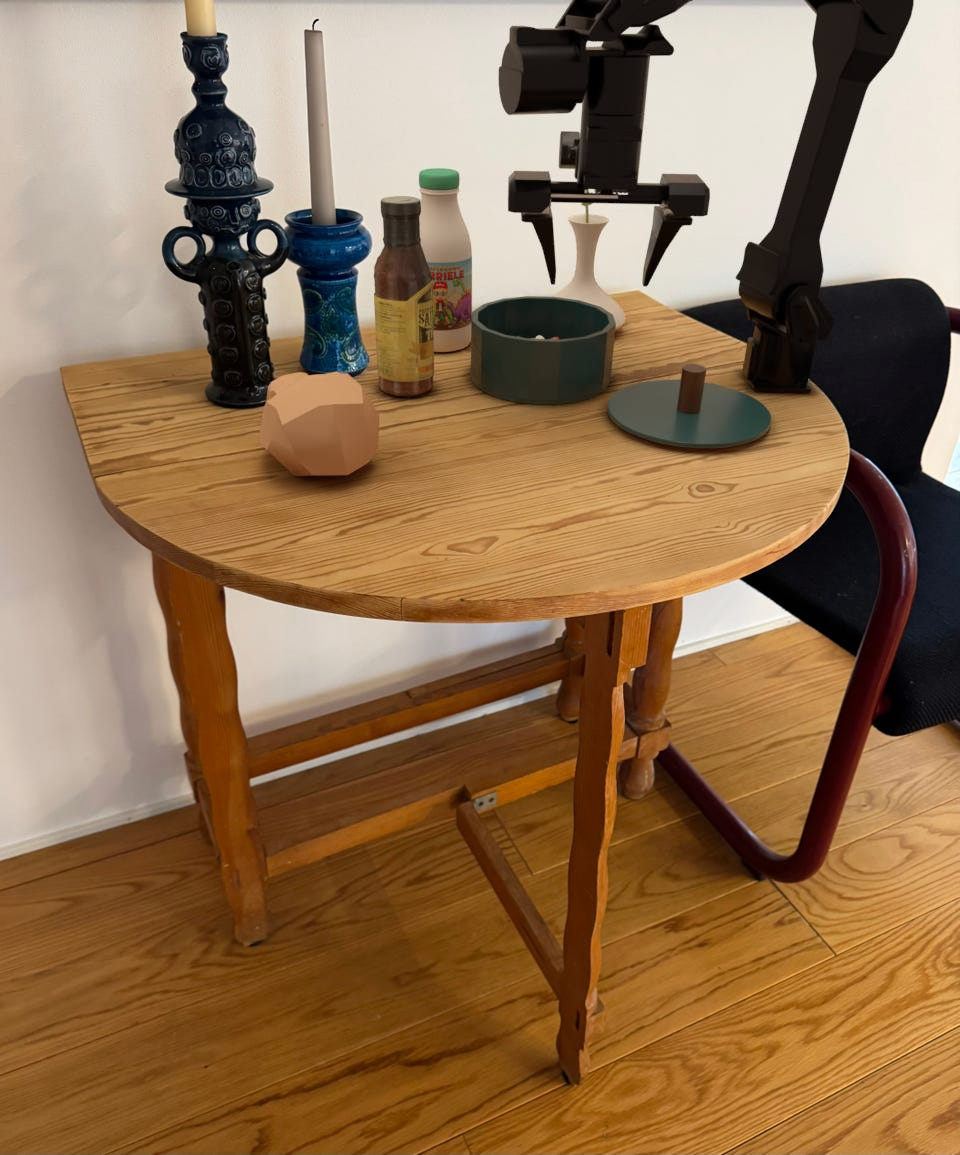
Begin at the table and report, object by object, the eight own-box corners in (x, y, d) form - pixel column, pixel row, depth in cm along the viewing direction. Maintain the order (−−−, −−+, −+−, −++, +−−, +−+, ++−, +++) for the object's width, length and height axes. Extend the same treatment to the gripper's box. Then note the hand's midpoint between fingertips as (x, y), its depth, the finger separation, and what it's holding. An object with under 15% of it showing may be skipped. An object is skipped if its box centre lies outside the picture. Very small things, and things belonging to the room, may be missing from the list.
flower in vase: (619, 348, 117) (640, 126, 104) (528, 339, 119) (538, 121, 106) (630, 316, 128) (650, 111, 114) (546, 309, 130) (557, 107, 116)
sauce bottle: (432, 400, 103) (429, 207, 92) (375, 398, 103) (365, 206, 92) (436, 377, 108) (434, 193, 97) (381, 376, 108) (373, 192, 97)
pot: (602, 355, 115) (607, 297, 111) (616, 406, 102) (622, 342, 98) (472, 352, 115) (473, 294, 112) (469, 403, 102) (469, 339, 98)
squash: (289, 508, 83) (257, 411, 78) (247, 444, 99) (218, 362, 95) (404, 467, 85) (379, 372, 81) (343, 412, 102) (320, 330, 97)
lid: (749, 390, 106) (758, 341, 103) (787, 455, 92) (799, 402, 89) (599, 387, 106) (604, 338, 103) (614, 452, 92) (620, 398, 89)
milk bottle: (402, 335, 120) (397, 166, 109) (461, 330, 122) (462, 163, 111) (418, 356, 114) (414, 178, 103) (479, 350, 116) (481, 175, 105)
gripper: (700, 102, 93) (679, 264, 102) (509, 99, 93) (505, 261, 102) (722, 118, 84) (697, 295, 92) (511, 114, 84) (505, 291, 92)
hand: (598, 284), depth 95 cm, fingers open, 9 cm apart
